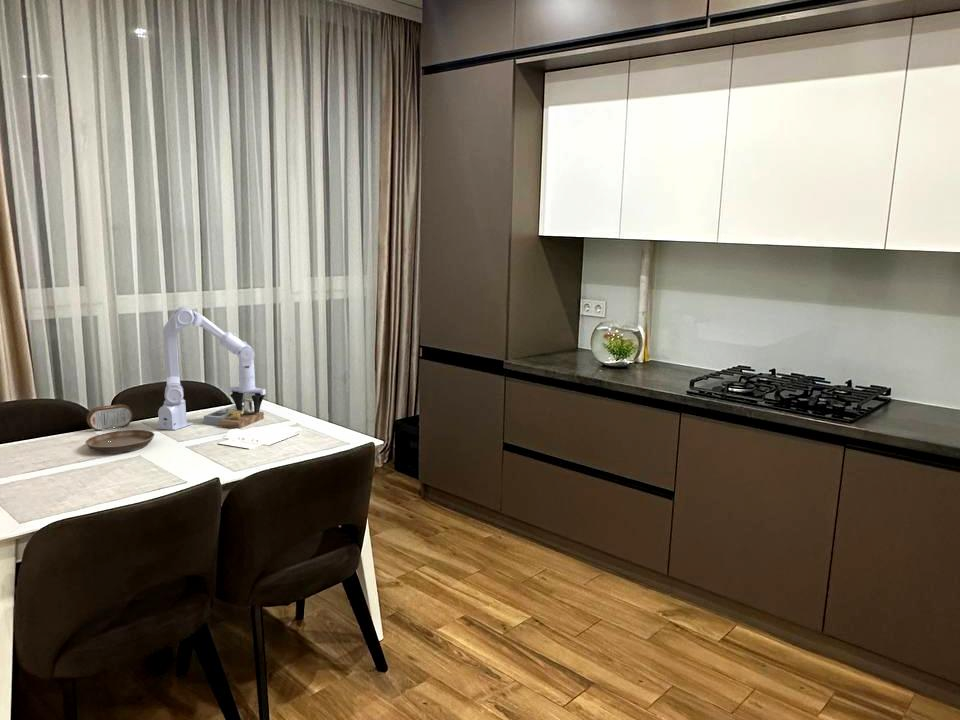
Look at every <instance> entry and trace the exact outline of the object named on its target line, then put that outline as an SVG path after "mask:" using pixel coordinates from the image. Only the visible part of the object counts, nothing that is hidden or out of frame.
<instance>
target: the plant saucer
mask: <svg viewBox="0 0 960 720" xmlns="http://www.w3.org/2000/svg"><path fill="white" fill-rule="evenodd" d="M154 437H155V433H154V432H152V431H149V430H146V429H144V430H143V429H126V430H116V431H110V432H105V433H101V434H98V435H94V436H91V437H90V438H88V439H86V441H85V444H86V446H87V447H88V448H89V449H90V450H92V451H94V452H96V453H99V454H122V453H129V452H135V451H138V450H140V449H143V448H145V447H147V446H148V445H149V444H150V443H151V442H152V440H154ZM108 441H109V442H108ZM110 441H111V442H110Z"/></svg>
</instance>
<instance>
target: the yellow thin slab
mask: <svg viewBox="0 0 960 720" xmlns="http://www.w3.org/2000/svg"><path fill="white" fill-rule="evenodd" d="M228 413H231V417H232V419H237V420H239V419H240V414H243V413H244V411H241V410H230V409H229V410H228Z"/></svg>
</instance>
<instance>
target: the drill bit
mask: <svg viewBox="0 0 960 720" xmlns="http://www.w3.org/2000/svg"><path fill="white" fill-rule="evenodd" d="M243 405H244V415H249V416H251V415H253V411H254V403H253V399H252V398H244V399H243Z"/></svg>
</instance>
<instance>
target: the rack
mask: <svg viewBox="0 0 960 720" xmlns="http://www.w3.org/2000/svg"><path fill="white" fill-rule="evenodd" d="M242 405H243V409H242V411H244V404H242ZM229 409H230V410H237V408H236V405H235V404H233V405H230V406H227V407H225V408H222V409H219V410H216V411H214V412H210V413H208V414H206V415H203V425H211V426H220V420H222V419H225V418H227V417H230V416H231V413H228V410H229Z"/></svg>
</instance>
